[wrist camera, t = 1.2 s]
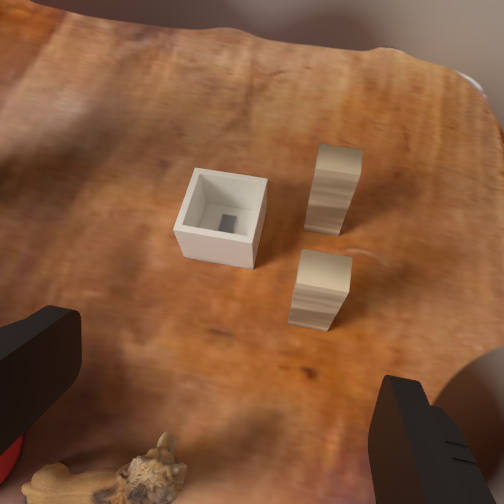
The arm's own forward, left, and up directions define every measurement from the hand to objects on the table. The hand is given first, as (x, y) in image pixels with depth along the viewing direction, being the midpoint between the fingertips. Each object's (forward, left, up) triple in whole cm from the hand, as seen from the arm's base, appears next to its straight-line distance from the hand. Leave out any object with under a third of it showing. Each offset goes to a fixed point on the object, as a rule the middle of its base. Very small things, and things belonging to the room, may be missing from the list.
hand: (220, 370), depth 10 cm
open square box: (-18, +9, -28) cm, 34 cm away
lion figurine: (-3, -12, -28) cm, 30 cm away
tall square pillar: (-5, +11, -28) cm, 30 cm away
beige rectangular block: (-13, +19, -28) cm, 36 cm away
